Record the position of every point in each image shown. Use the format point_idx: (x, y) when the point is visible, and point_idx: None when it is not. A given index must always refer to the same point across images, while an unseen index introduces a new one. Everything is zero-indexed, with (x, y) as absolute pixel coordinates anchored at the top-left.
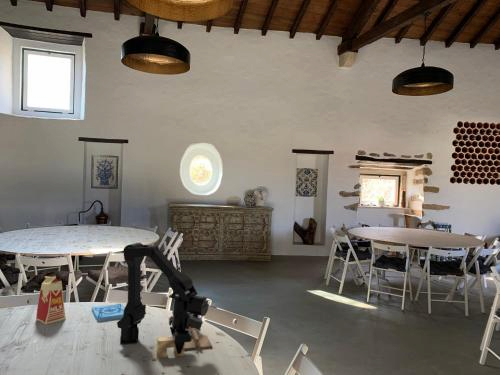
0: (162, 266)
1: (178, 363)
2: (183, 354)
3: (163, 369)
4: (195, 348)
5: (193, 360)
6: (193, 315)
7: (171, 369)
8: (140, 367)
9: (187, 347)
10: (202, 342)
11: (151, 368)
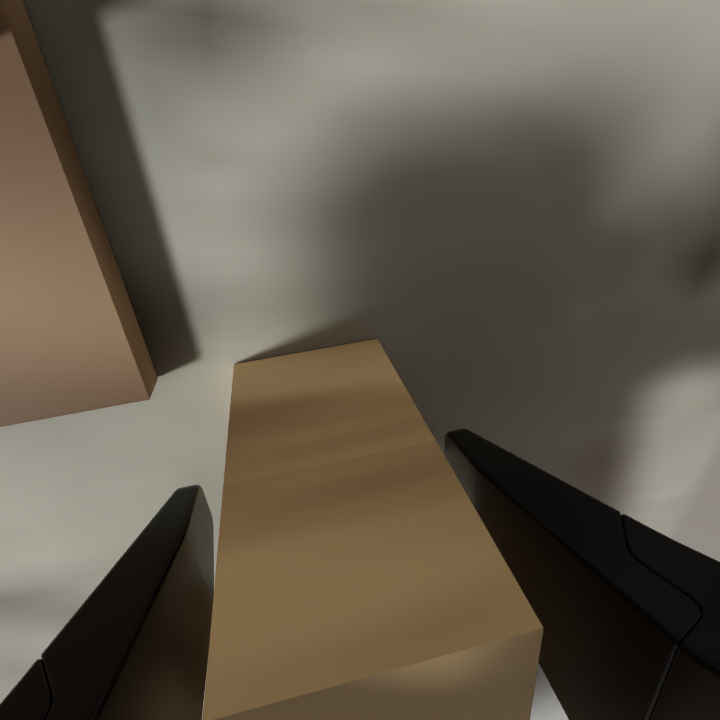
0: None
1: (591, 398)
2: (385, 356)
3: (658, 526)
4: (38, 61)
5: (574, 161)
6: None
7: (692, 458)
8: None
9: (87, 293)
10: None
11: None
